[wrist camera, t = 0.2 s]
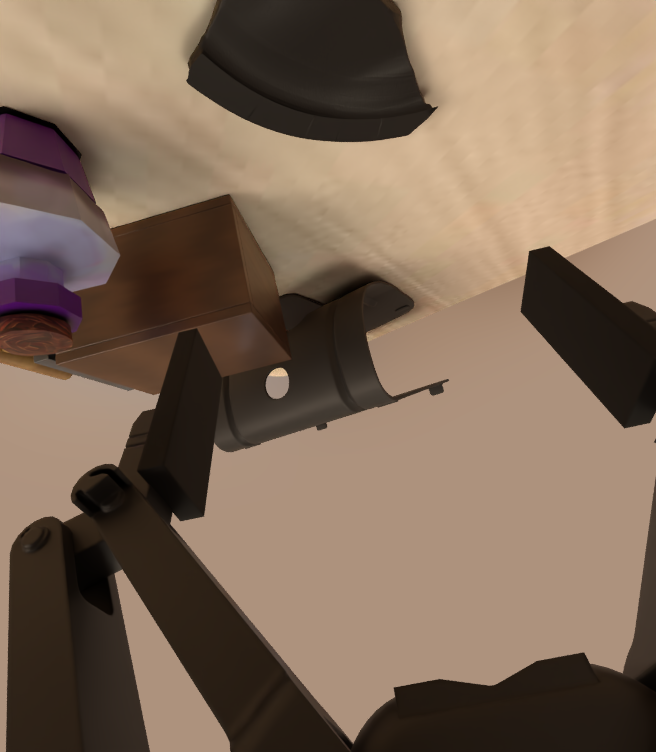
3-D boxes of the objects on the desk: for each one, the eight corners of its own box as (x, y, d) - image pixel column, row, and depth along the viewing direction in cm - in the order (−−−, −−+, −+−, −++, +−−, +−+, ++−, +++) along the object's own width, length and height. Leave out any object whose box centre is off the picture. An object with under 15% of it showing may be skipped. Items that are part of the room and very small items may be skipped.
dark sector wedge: (356, 163, 30) (362, 182, 29) (176, 61, 20) (180, 86, 20) (456, 69, 24) (464, 91, 24) (270, -135, 15) (279, -105, 14)
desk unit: (142, 308, 43) (153, 395, 41) (48, 246, 31) (55, 365, 29) (273, 272, 42) (292, 359, 40) (229, 193, 30) (252, 312, 27)
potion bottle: (-117, 142, 21) (-129, 361, 18) (-29, 37, 17) (-27, 285, 15) (57, 220, 28) (68, 382, 26) (141, 158, 25) (165, 336, 22)
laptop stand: (352, 250, 41) (391, 396, 37) (428, 305, 61) (458, 404, 57) (189, 339, 53) (206, 455, 50) (296, 361, 73) (314, 445, 70)
